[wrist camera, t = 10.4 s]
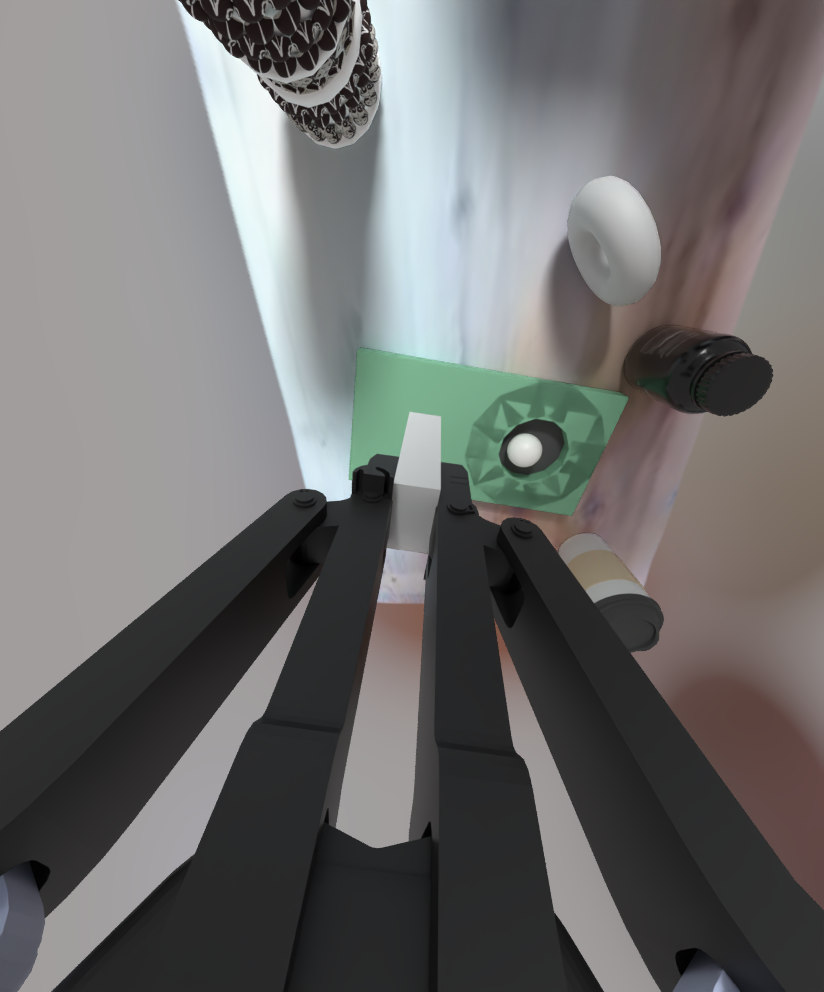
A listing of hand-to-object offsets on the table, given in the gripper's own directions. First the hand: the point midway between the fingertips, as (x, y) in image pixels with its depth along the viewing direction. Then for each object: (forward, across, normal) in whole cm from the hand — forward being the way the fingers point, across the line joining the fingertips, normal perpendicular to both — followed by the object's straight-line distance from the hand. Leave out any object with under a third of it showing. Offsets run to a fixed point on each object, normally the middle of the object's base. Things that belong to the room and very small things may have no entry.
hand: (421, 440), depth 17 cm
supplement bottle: (+26, +24, +2) cm, 36 cm away
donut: (+26, +13, +10) cm, 31 cm away
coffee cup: (+25, +26, -25) cm, 44 cm away
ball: (+23, +13, -10) cm, 28 cm away
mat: (+25, +7, -10) cm, 28 cm away
